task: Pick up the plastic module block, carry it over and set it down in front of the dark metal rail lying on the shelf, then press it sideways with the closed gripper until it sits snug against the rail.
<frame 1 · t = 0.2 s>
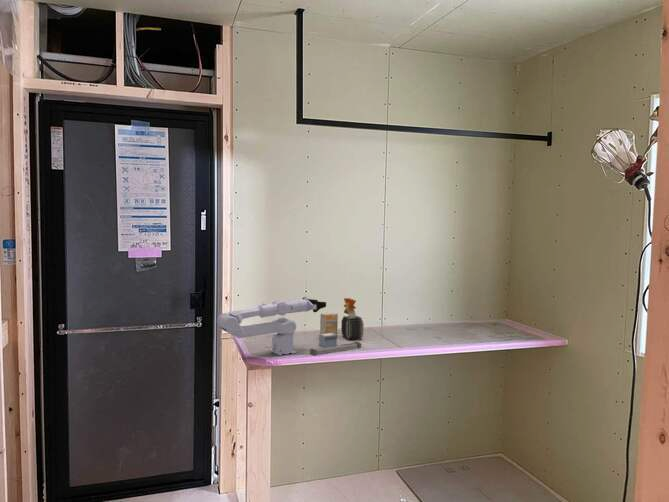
hand: (321, 303, 230), 21 cm above the counter, tool horizontal, fingers open, 7 cm apart
bomb: (351, 337, 252), on the counter
supplement box: (328, 338, 250), on the counter
module: (327, 345, 234), on the counter
rail: (336, 350, 224), on the counter
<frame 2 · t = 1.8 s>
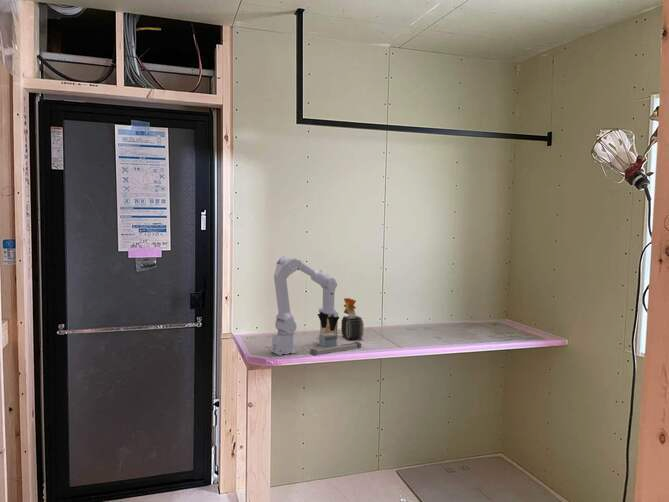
hand: (328, 329, 234), 8 cm above the counter, tool pointing down, fingers open, 7 cm apart
nothing on the counter moved.
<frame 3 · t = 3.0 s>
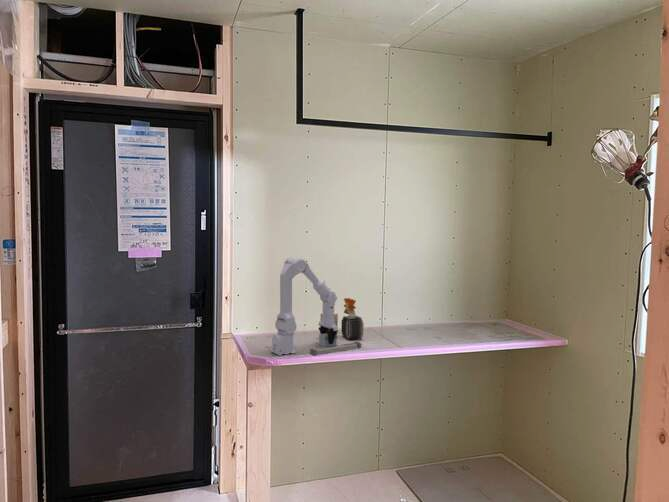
hand: (327, 342, 234), 1 cm above the counter, tool pointing down, fingers closed on module, 5 cm apart
module: (327, 345, 234), on the counter, touching gripper
everything else where it was.
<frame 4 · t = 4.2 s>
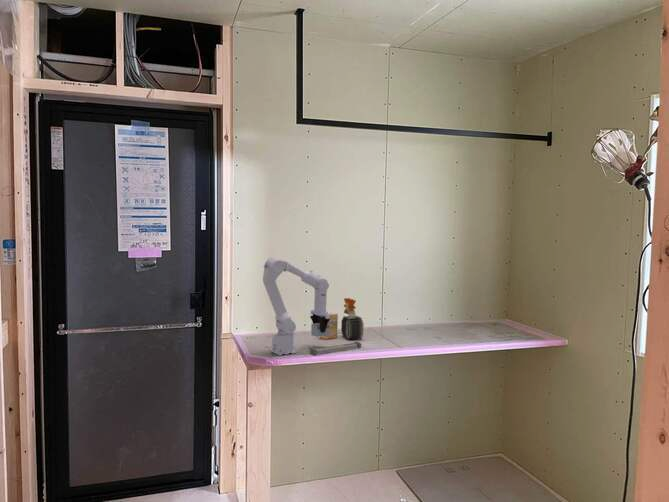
hand: (319, 331, 228), 8 cm above the counter, tool pointing down, fingers closed on module, 5 cm apart
module: (320, 335, 228), point 6 cm above the counter, touching gripper
everything else where it was.
when the fingers open (3 cm above the counter, at t = 5.8 s): module drops 1 cm, on the counter.
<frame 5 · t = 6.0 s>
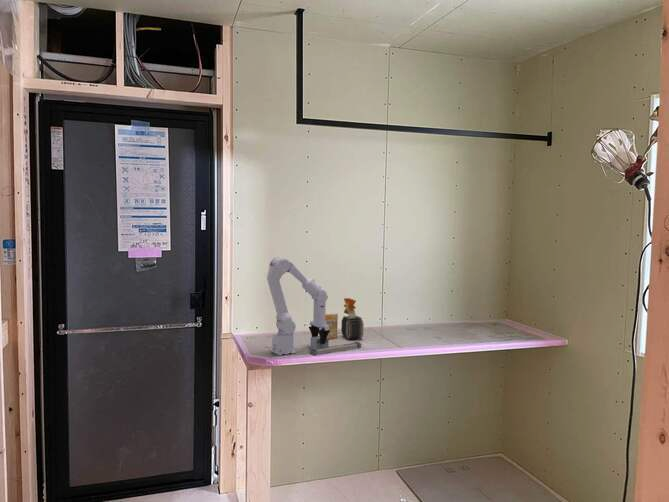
hand: (319, 342, 228), 3 cm above the counter, tool pointing down, fingers open, 6 cm apart
module: (319, 348, 228), on the counter
everything else where it was.
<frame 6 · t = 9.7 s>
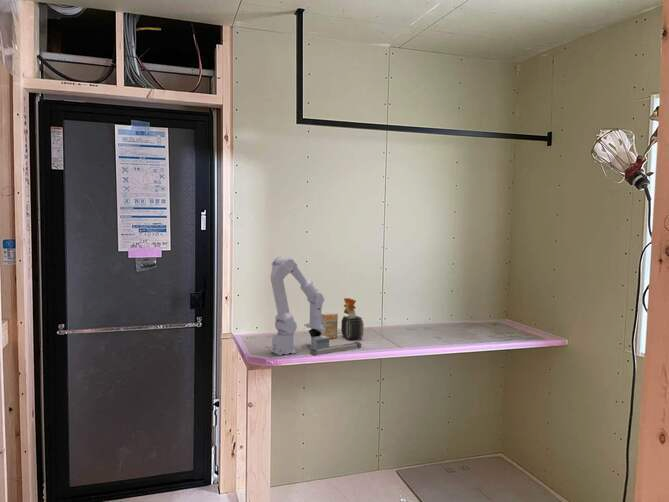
hand: (315, 344, 231), 1 cm above the counter, tool pointing down, fingers closed
module: (320, 348, 228), on the counter, touching gripper
everything else where it was.
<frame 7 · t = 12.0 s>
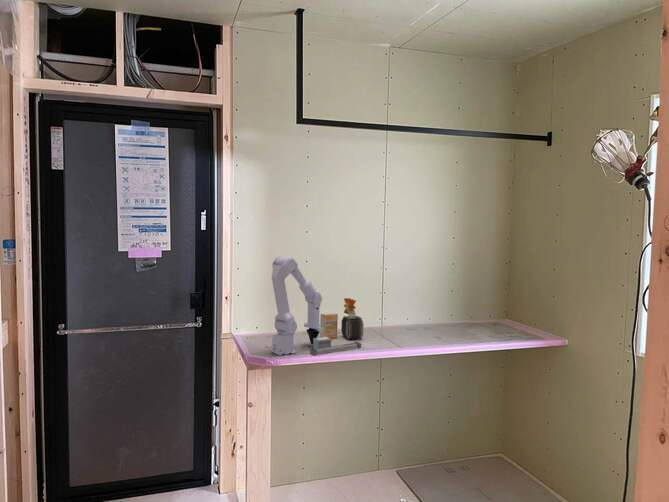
hand: (313, 343, 232), 1 cm above the counter, tool pointing down, fingers closed
module: (322, 350, 226), on the counter
everything else where it was.
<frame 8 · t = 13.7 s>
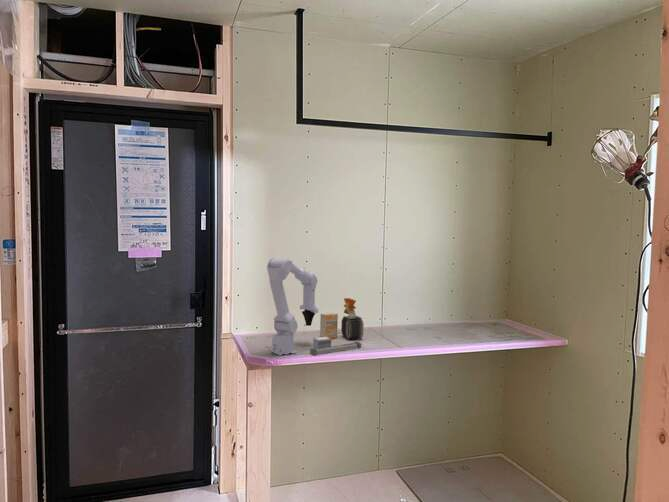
hand: (308, 325, 236), 9 cm above the counter, tool pointing down, fingers closed
nothing on the counter moved.
at the end: module inside the target area on the counter beside the rail (4.9 cm from its centre), on the counter; module tilted 0°; module moved 8.9 cm from its start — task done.
